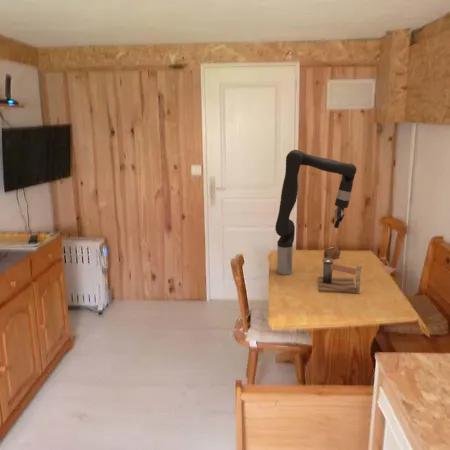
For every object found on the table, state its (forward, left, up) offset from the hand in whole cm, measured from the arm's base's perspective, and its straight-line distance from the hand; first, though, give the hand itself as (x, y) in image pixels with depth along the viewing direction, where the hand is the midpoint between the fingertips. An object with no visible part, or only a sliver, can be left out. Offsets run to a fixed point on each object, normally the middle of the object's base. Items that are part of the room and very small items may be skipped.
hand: (336, 227), depth 266 cm
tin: (-37, +1, -31) cm, 49 cm away
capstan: (+14, +2, -29) cm, 32 cm away
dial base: (+12, +2, -31) cm, 33 cm away
